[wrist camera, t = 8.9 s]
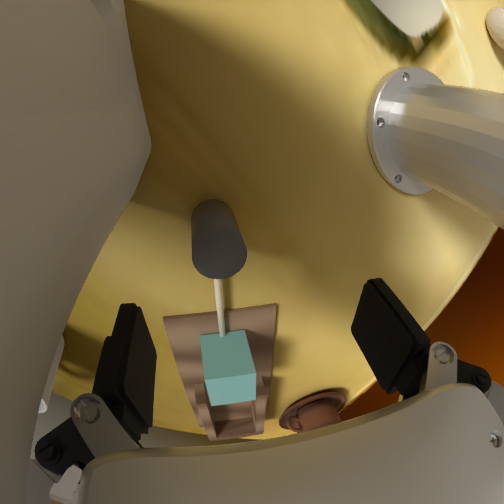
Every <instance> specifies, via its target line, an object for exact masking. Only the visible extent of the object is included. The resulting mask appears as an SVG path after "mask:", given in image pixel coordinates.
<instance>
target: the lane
mask: <svg viewBox="0 0 504 504" xmlns="http://www.w3.org/2000/svg"><path fill="white" fill-rule="evenodd" d="M276 308H277V306H276V304H269V305H262V306H255V307H247V308H240V309H232V310H223V311H224V322H225V332H232V331H240V330H245V333H246V337H247V341H248V345H249V348H250V352H251V356H252V359H253V363H254V367H255V370H256V400H251V401H245V402H239V403H232V404H224V405H216V406H211V403H210V399H209V396H208V392H207V388H206V384H205V379H204V370H203V361H202V352H201V342H200V335H207V334H216V333H219V325H218V317H217V311H215V312H206V313H197V314H187V315H177V316H166V317H163V321H164V324H165V328H166V331H167V335H168V338H169V341H170V345H171V348H172V351H173V354H174V357H175V361H176V364H177V367H178V370H179V372H180V375H181V378H182V381H183V384H184V387H185V390H186V392H187V395H188V398H189V400H190V403H191V406H192V408H193V411H194V413H195V416H196V418H197V421H198V423H199V426H200V427H205V430H206V432H207V435H208V437H209V440H210V441H217V440H225V439H233V438H240V437H246V436H252V435H258V434H263V431H264V420H265V418H267V412H268V402H269V392H270V381H271V370H272V359H273V347H274V334H275V322H276Z"/></svg>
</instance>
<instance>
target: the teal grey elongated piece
mask: <svg viewBox="0 0 504 504" xmlns="http://www.w3.org/2000/svg"><path fill="white" fill-rule="evenodd" d="M191 230H192V260H193V264H194V266H195V268H196V269H197V270H198V271H199V272H200V273H201V274H202V275H204V276H206V277H208V278H212V279H214V288H215V298H216V307H217V317H218V325H219V333H216V334H207V335H200V342H201V352H202V361H203V370H204V379H205V384H206V388H207V392H208V396H209V399H210V403H211V406H216V405H224V404H232V403H239V402H245V401H251V400H256V370H255V367H254V363H253V359H252V356H251V352H250V348H249V345H248V341H247V337H246V333H245V330H240V331H232V332H225V322H224V311H223V300H222V288H221V279H224V278H228V277H231V276H233V275H235V274H236V273H237V272H239V271H240V270H241V268H242V267H243V266H244V264H245V262H246V258H247V249H246V246H245V243H244V241H243V238H242V236H241V233H240V231H239V228H238V225H237V223H236V220H235V218H234V215H233V213H232V210H231V209H230V207H229V206H228V205H227V204H225V203H224V202H222V201H219V200H207V201H205V202H202V203H201V204H199V205H198V206H197V207H196V208H195V210H194V211H193V214H192V218H191Z"/></svg>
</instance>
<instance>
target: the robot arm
mask: <svg viewBox="0 0 504 504" xmlns="http://www.w3.org/2000/svg"><path fill="white" fill-rule="evenodd" d="M367 138H368V143H369V148H370V152H371V155H372V158H373V161H374V163H375V165H376V167H377V169H378V171H379V173H380V174H381V175H382V176H383V178H384V179H385V180H386V181H387V182H388V183H389V184H391V185H392V186H393V187H395V188H397V189H398V190H400V191H402V192H405V193H408V194H411V195H420V194H424V193H427V192H429V191H431V190H433V189H435V190H436V191H438V192H440V193H442V194H444V195H446V196H448V197H450V198H452V199H454V200H455V201H457V202H459V203H461V204H463V205H464V206H466V207H468V208H470V209H471V210H473V211H475V212H477V213H478V214H480V215H482V216H483V217H485V218H486V219H488V220H490V221H491V222H493V223H494V224H496V225H497V226H499V227H500V228H502V229H503V230H504V94H502V93H497V92H493V91H487V90H482V89H476V88H469V87H462V86H453V85H444V83H443V82H442V81H441V80H440V79H439V78H438V77H437V76H436V75H434V74H433V73H431V72H429V71H428V70H426V69H422V68H419V67H403V68H398V69H396V70H393V71H391V72H390V73H388V74H387V75H386V76H385V77H384V78H383V79H382V80H381V81H380V83H379V84H378V85H377V87H376V89H375V91H374V93H373V95H372V98H371V101H370V105H369V109H368V117H367ZM351 332H352V334H353V336H354V338H355V340H356V342H357V343H358V345H359V347H360V349H361V351H362V352H363V354H364V356H365V358H366V360H367V362H368V364H369V365H370V367H371V369H372V371H373V373H374V375H375V377H376V379H377V380H378V382H379V384H380V386H381V387H382V389H384V390H386V392H387V394H388V395H389V394H391V393H394V392H396V391H399V392H400V397H399V401H398V403H395V404H393V405H390V406H388V407H385V408H383V409H380V410H378V411H374V412H372V413H369V414H366V415H363V416H360V417H357V418H354V419H350V420H348V421H344V422H341V423H337V424H334V425H330V426H326V427H323V428H319V429H315V430H310V431H306V432H302V433H297V434H292V435H288V436H282V437H277V438H271V439H265V440H259V441H252V442H244V443H235V444H225V445H213V446H198V447H164V448H144V447H143V446H142V444H141V443H140V442H139V440H140V439H141V433H142V434H143V433H144V434H148V427H152V424H153V401H154V385H155V372H156V360H157V354H156V349H155V347H154V344H153V341H152V338H151V336H150V333H149V330H148V327H147V324H146V321H145V319H144V316H143V312H142V309H141V307H137V306H136V304H135V303H126V304H121V305H120V308H119V311H118V315H117V318H116V322H115V325H114V329H113V332H112V336H107V337H106V339H105V341H104V345H103V348H102V352H101V356H100V360H99V364H98V368H97V372H96V377H95V381H94V386H93V390H92V394H91V393H87V394H83V395H80V396H79V397H77V398H76V399H75V400H74V402H73V403H72V406H71V409H70V414H71V417H70V418H69V419H67V420H66V421H64V422H63V423H62V424H60V425H59V426H57V427H56V428H55V429H53V430H52V431H51V432H49V433H48V434H46V435H45V436H43V437H42V438H41V439H40V440H39V441H38V442H37V444H36V447H35V457H36V458H35V459H34V460H32V459H30V461H29V470H28V481H27V497H26V504H71V503H70V501H71V498H72V496H73V494H74V493H75V492H74V491H73V490H74V488H75V487H76V485H77V484H79V488H78V497H77V504H504V388H503V387H502V386H500V385H499V384H497V383H496V382H494V381H493V382H492V383H491V378H490V376H489V374H488V372H487V371H486V370H484V369H483V368H481V367H478V366H475V365H472V364H469V363H466V362H463V361H461V360H458V359H457V355H456V352H455V350H454V349H453V348H452V347H451V346H450V345H449V344H447V343H445V342H436V343H434V344H432V346H431V345H430V344H429V342H430V339H429V338H428V336H427V335H426V334H425V332H424V331H423V330H422V328H421V327H420V326H419V324H418V323H417V322H416V320H415V319H414V318H413V316H412V315H411V314H410V313H409V311H408V310H407V309H406V308H405V306H404V305H403V304H402V303H401V301H400V300H399V299H398V298H397V296H396V295H395V294H394V293H393V291H392V290H391V289H390V288H389V287H388V285H387V284H386V283H385V282H384V281H383V280H382V279H381V278H376V279H370V280H368V281H367V283H366V284H365V285H364V287H363V291H362V294H361V297H360V301H359V304H358V307H357V310H356V314H355V317H354V320H353V323H352V326H351Z"/></svg>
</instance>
